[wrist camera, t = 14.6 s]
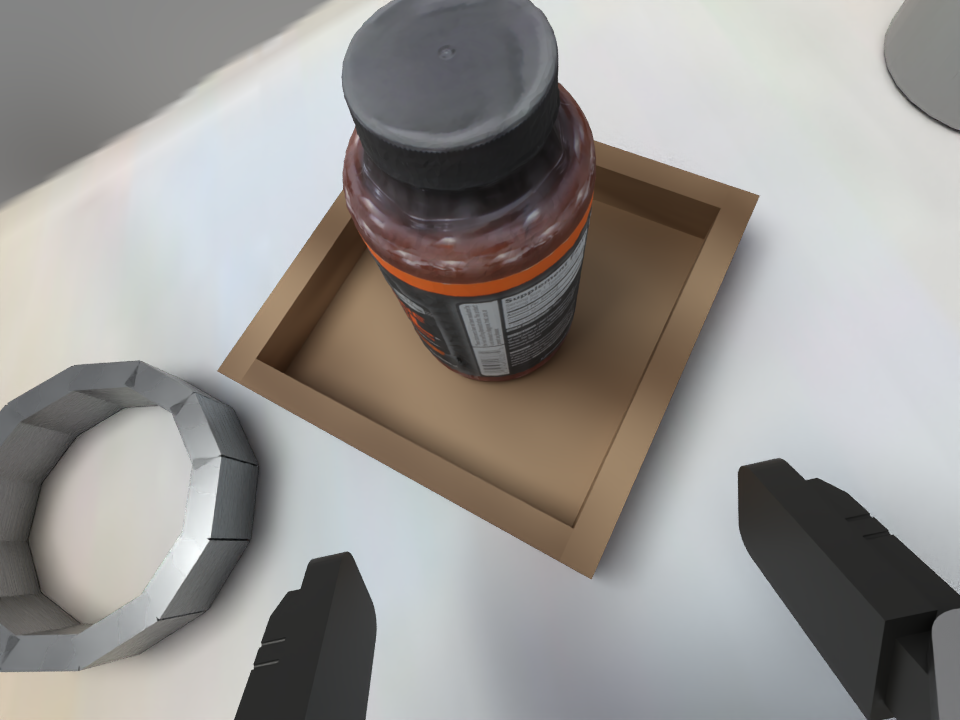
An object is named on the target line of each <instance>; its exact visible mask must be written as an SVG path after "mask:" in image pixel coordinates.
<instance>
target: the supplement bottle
mask: <svg viewBox="0 0 960 720" xmlns="http://www.w3.org/2000/svg"><path fill="white" fill-rule="evenodd" d="M341 78H342V87H343V92H344V97H345V100H346V102H347V105H348V107H349V110H350V113H351V115H352V118H353V121H354V123H355V129H354V131H353V134H352V136H351V138H350V140H349V144H348V147H347V150H346V155H345V160H344V168H343V190H344V193H345V198H346V207H347V209H348V211H349V213H350V215H351V217H352V219H353V221H354V224H355V226H356V229H357V230H358V232H359V234H360V236H361V237H362V239H363V240H364V242H365V244H366V245H367V247H368V250H369V252H370V254H371V256H372V257H373V259H374V260H375V262H376V263H377V265H378V267H379V269H380V271H381V272H382V274H383V276H384V278H385V280H386V281H387V283H388V284H389V285H390V287H391V288H392V290H393V292H394V294H395V295H396V297H397V298H398V300H399V302H400V304H401V306H402V307H403V310H404V311H405V313H406V314H407V316H408V318H409V320H410V321H411V322H412V324H413V326H414V329H415V331H416V333H417V334H418V335H419V337H420V339H421V340H422V342H423V344H424V345H425V346H426V348H427V349H428V350H429V351H430V352H431V353H432V354H433V356H434V357H435V358H436V359H437V360H438V361H439V362H441V363H442V364H443V365H444V366H446V367H447V368H448V369H450V370H452V371H453V372H455V373H458V374H460V375H462V376H463V377H466V378H469V379H474V380H478V381H506V380H511V379H516V378H519V377H521V376H525V375H527V374H529V373H531V372H533V371H535V370H536V369H538V368H539V367H541V366H542V365H544V364H545V363H546V362H547V361H548V360H550V359H551V358H552V357H553V356H554V355H555V353H556V352H557V351H558V350H559V348H560V347H561V345H562V344H563V342H564V341H565V339H566V336H567V335H568V333H569V331H570V328H571V324H572V320H573V317H574V313H575V308H576V301H577V295H578V290H579V283H580V278H581V271H582V264H583V259H584V253H585V246H586V240H587V234H588V229H589V224H590V216H591V211H592V201H593V193H594V186H595V179H596V153H595V145H594V140H593V136H592V131H591V129H590V126H589V123H588V121H587V119H586V117H585V115H584V113H583V112H582V110H581V108H580V107H579V105H578V104H577V102H576V101H575V100H574V98H573V97H572V96H571V94H570V93H569V92H568V91H567V90H566V89H565V88H564V87H563V86H562V85H561V84H560V83H558V47H557V42H556V38H555V35H554V31H553V29H552V27H551V25H550V24H549V22H548V20H547V18H546V16H545V15H544V13H543V12H542V11H541V10H540V9H539V8H537V7H535V6H534V4H533V3H532V2H531V1H530V0H393V1H391V2H389V3H388V4H387V5H385V6H383V7H381V8H380V9H378V10H377V11H376V12H375V13H374V14H373V15H372V16H371V17H370V18H369V19H368V20H367V21H366V22H365V23H363V25H362V27H361V28H360V29H359V30H358V31H357V32H356V33H355V35H354V36H353V38H352V40H351V42H350V44H349V47H348V49H347V52H346V55H345V58H344V61H343V69H342V77H341Z"/></svg>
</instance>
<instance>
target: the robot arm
mask: <svg viewBox="0 0 960 720" xmlns="http://www.w3.org/2000/svg"><path fill="white" fill-rule="evenodd" d="M884 54H885V58H886V63H887V67H888V70H889V72H890V73H891V75H892V77H893V79H894V81H895V83H896V85H897V86H898V87H899V88H900V89H901V90H902V92H903V93H904V94H905V95H906V96H907V97H908V98H909V100H910V101H911V102H913V103H914V104H915V105H916V106H918V107H919V108H920V109H922V110H923V111H924V112H926V113H927V114H928V115H929V116H931V117H933V118H935V119H937V120H939V121H941V122H942V123H944V124H946V125H948V126H950V127H952V128H954V129H957V130H960V0H905V1H904V3H903V4H902V6H901V7H900V9H899V10H898V12H897V13H896V15H895V16H894V18H893V19H892V21H891V23H890V25H889V28H888V30H887V33H886V35H885V46H884ZM738 513H739V530H740V534H741V537H742V540H743V543H744V545H745V547H746V549H747V551H748V553H749V555H750V556H751V558H752V559H753V560H754V562H755V563H756V565H757V566H758V567H759V569H760V570H761V572H762V573H763V574H764V576H765V577H766V579H767V580H768V581H769V583H770V584H771V586H772V587H773V588H774V590H775V591H776V593H777V594H778V595H779V597H780V598H781V600H782V601H783V602H784V604H785V605H786V607H787V608H788V609H789V611H790V612H791V614H792V615H793V616H794V618H795V619H796V621H797V622H798V623H799V625H800V626H801V628H802V629H803V630H804V632H805V633H806V635H807V636H808V637H809V639H810V640H811V642H812V643H813V644H814V646H815V647H816V649H817V650H818V651H819V653H820V654H821V656H822V657H823V658H824V660H825V661H826V663H827V664H828V665H829V667H830V668H831V670H832V671H833V672H834V674H835V675H836V677H837V678H838V679H839V681H840V682H841V684H842V685H843V686H844V688H845V689H846V691H847V692H848V693H849V695H850V696H851V698H852V699H853V700H854V702H855V703H856V705H857V706H858V707H859V709H860V710H861V712H862V713H863V714H864V716H865V717H866V719H867V720H884V719H889V718H894V717H895V718H896V719H897V720H960V595H959V594H958V593H957V592H956V591H955V590H954V589H952V588H951V587H950V586H949V585H948V584H947V583H946V582H945V581H944V580H943V579H941V578H940V577H939V576H938V575H937V574H936V573H935V572H934V571H933V570H932V569H930V568H929V567H928V566H927V565H926V564H925V563H924V562H923V561H922V560H921V559H919V558H918V557H917V556H916V555H915V554H914V553H913V552H912V551H911V550H910V549H908V548H907V547H906V546H905V545H904V544H903V543H902V542H901V541H900V540H899V539H897V538H896V537H895V536H894V535H890V534H889V532H888V529H886V528H885V527H884V526H883V525H882V524H881V523H880V522H879V521H878V520H877V519H875V518H874V517H873V518H872V517H871V516H870V513H869V512H868V511H867V510H866V509H864V508H863V507H862V506H861V505H860V504H859V503H858V502H857V501H856V500H855V499H853V498H852V497H851V496H850V495H849V494H848V493H847V492H845V491H843V490H841V489H839V488H837V487H835V486H833V485H831V484H829V483H827V482H825V481H823V480H821V479H819V478H815V479H810V480H805V479H804V478H803V477H802V476H801V475H800V474H799V473H798V472H797V471H795V470H794V469H793V468H792V467H791V466H790V465H789V464H788V463H787V462H786V461H785V460H783V459H781V458H777V459H772V460H768V461H763V462H759V463H754V464H749V465H745V466H741V467H740V468H739V471H738ZM376 630H377V626H376V614H375V609H374V605H373V602H372V600H371V597H370V595H369V593H368V590H367V588H366V586H365V583H364V581H363V579H362V576H361V574H360V572H359V570H358V567H357V565H356V563H355V560H354V558H353V556H352V555H351V553H350V552H343V553H338V554H334V555H329V556H325V557H320V558H315V559H312V560H311V561H310V562H309V564H308V566H307V569H306V572H305V576H304V579H303V582H302V586H301V589H299V590H294V591H290V592H288V593H287V594H286V595H285V597H284V598H283V599H282V601H281V602H280V604H279V605H278V606H277V608H276V609H275V610H274V612H273V613H272V615H271V616H270V618H269V621H268V624H267V627H266V630H265V633H264V636H263V639H262V641H261V643H262V646H261V647H260V648H259V650H258V653H257V656H256V659H255V661H254V670H251V673H250V676H249V679H248V681H247V684H246V687H245V690H244V693H243V696H242V699H241V702H240V704H239V707H238V710H237V713H236V716H235V719H234V720H365V719H366V711H367V703H368V696H369V688H370V680H371V672H372V664H373V657H374V649H375V641H376Z"/></svg>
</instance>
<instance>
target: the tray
mask: <svg viewBox="0 0 960 720" xmlns="http://www.w3.org/2000/svg"><path fill="white" fill-rule="evenodd" d="M594 145H595V153H596V179H595V186H594V193H593V201H592V211H591V216H590V224H589V229H588V234H587V240H586V246H585V253H584V259H583V264H582V271H581V278H580V283H579V290H578V295H577V301H576V308H575V313H574V317H573V320H572V324H571V328H570V331H569V333H568V335H567V336H566V339H565V341H564V342H563V344H562V345H561V347H560V348H559V350H558V351H557V352H556V353H555V355H554V356H553V357H552V358H551V359H550V360H548V361H547V362H546V363H545V364H544V365H542V366H541V367H539V368H538V369H536V370H535V371H533V372H531V373H529V374H527V375H525V376H521V377H519V378H516V379H511V380H506V381H478V380H474V379H469V378H466V377H463V376H462V375H460V374H458V373H455V372H453V371H452V370H450V369H448V368H447V367H446V366H444V365H443V364H442V363H441V362H439V361H438V360H437V359H436V358H435V357H434V356H433V354H432V353H431V352H430V351H429V350H428V349H427V348H426V346H425V345H424V344H423V342H422V340H421V339H420V337H419V335H418V334H417V333H416V331H415V329H414V326H413V324H412V322H411V321H410V320H409V318H408V316H407V314H406V313H405V311H404V310H403V307H402V306H401V304H400V302H399V300H398V298H397V297H396V295H395V294H394V292H393V290H392V288H391V287H390V285H389V284H388V283H387V281H386V280H385V278H384V276H383V274H382V272H381V271H380V269H379V267H378V265H377V263H376V262H375V260H374V259H373V257H372V256H371V254H370V252H369V250H368V247H367V245H366V244H365V242H364V240H363V239H362V237H361V236H360V234H359V232H358V230H357V229H356V226H355V224H354V221H353V219H352V217H351V215H350V213H349V211H348V209H347V207H346V198H345V193H344V190H342V192H341V193H340V195H339V196H338V198H337V199H336V200H335V202H334V203H333V205H332V206H331V208H330V209H329V211H328V212H327V213H326V215H325V216H324V218H323V219H322V221H321V222H320V223H319V225H318V226H317V228H316V229H315V231H314V232H313V234H312V235H311V236H310V238H309V239H308V241H307V242H306V244H305V245H304V247H303V248H302V249H301V251H300V252H299V254H298V255H297V257H296V258H295V260H294V261H293V262H292V264H291V265H290V267H289V268H288V270H287V271H286V272H285V274H284V275H283V277H282V278H281V280H280V281H279V283H278V284H277V285H276V287H275V288H274V290H273V291H272V293H271V294H270V296H269V297H268V298H267V300H266V301H265V303H264V304H263V306H262V307H261V308H260V310H259V311H258V313H257V314H256V316H255V317H254V319H253V320H252V321H251V323H250V324H249V326H248V327H247V329H246V330H245V332H244V333H243V334H242V336H241V337H240V339H239V340H238V342H237V343H236V345H235V346H234V347H233V349H232V350H231V352H230V353H229V355H228V356H227V357H226V359H225V360H224V362H223V363H222V365H221V366H220V368H219V369H218V370H217V371H218V372H220V373H221V374H223V375H225V376H227V377H229V378H230V379H232V380H234V381H236V382H238V383H239V384H241V385H243V386H245V387H247V388H248V389H250V390H252V391H254V392H256V393H257V394H259V395H261V396H263V397H265V398H266V399H268V400H270V401H272V402H274V403H275V404H277V405H279V406H281V407H283V408H284V409H286V410H288V411H290V412H292V413H293V414H295V415H297V416H299V417H301V418H302V419H304V420H306V421H308V422H310V423H311V424H313V425H315V426H317V427H318V428H320V429H322V430H324V431H326V432H327V433H329V434H331V435H333V436H335V437H336V438H338V439H340V440H342V441H344V442H345V443H347V444H349V445H351V446H353V447H354V448H356V449H358V450H360V451H362V452H363V453H365V454H367V455H369V456H371V457H372V458H374V459H376V460H378V461H380V462H381V463H383V464H385V465H387V466H389V467H390V468H392V469H394V470H396V471H398V472H399V473H401V474H403V475H405V476H407V477H408V478H410V479H412V480H414V481H416V482H417V483H419V484H421V485H423V486H425V487H426V488H428V489H430V490H432V491H433V492H435V493H437V494H439V495H441V496H442V497H444V498H446V499H448V500H450V501H451V502H453V503H455V504H457V505H459V506H460V507H462V508H464V509H466V510H468V511H469V512H471V513H473V514H475V515H477V516H478V517H480V518H482V519H484V520H486V521H487V522H489V523H491V524H493V525H495V526H496V527H498V528H500V529H502V530H504V531H505V532H507V533H509V534H511V535H513V536H514V537H516V538H518V539H520V540H522V541H523V542H525V543H527V544H529V545H531V546H532V547H534V548H536V549H538V550H540V551H541V552H543V553H545V554H547V555H549V556H550V557H552V558H554V559H556V560H557V561H559V562H561V563H563V564H565V565H566V566H568V567H570V568H572V569H574V570H575V571H577V572H579V573H581V574H583V575H584V576H586V577H588V578H590V579H592V577H593V575H594V573H595V570H596V568H597V566H598V563H599V561H600V559H601V557H602V554H603V552H604V550H605V547H606V545H607V543H608V541H609V538H610V536H611V534H612V532H613V529H614V527H615V525H616V522H617V520H618V518H619V516H620V513H621V511H622V509H623V506H624V504H625V502H626V500H627V497H628V495H629V493H630V490H631V488H632V486H633V484H634V481H635V479H636V477H637V474H638V472H639V470H640V468H641V465H642V463H643V461H644V459H645V456H646V454H647V452H648V449H649V447H650V445H651V443H652V440H653V438H654V436H655V433H656V431H657V429H658V427H659V424H660V422H661V420H662V417H663V415H664V413H665V411H666V408H667V406H668V404H669V401H670V399H671V397H672V395H673V392H674V390H675V388H676V386H677V383H678V381H679V379H680V376H681V374H682V372H683V370H684V367H685V365H686V363H687V360H688V358H689V356H690V354H691V351H692V349H693V347H694V344H695V342H696V340H697V338H698V335H699V333H700V331H701V328H702V326H703V324H704V322H705V319H706V317H707V315H708V313H709V310H710V308H711V306H712V303H713V301H714V299H715V297H716V294H717V292H718V290H719V287H720V285H721V283H722V281H723V278H724V276H725V274H726V271H727V269H728V267H729V265H730V262H731V260H732V258H733V255H734V253H735V251H736V249H737V246H738V244H739V242H740V240H741V237H742V235H743V233H744V230H745V228H746V226H747V224H748V221H749V219H750V217H751V214H752V212H753V210H754V208H755V205H756V203H757V201H758V198H759V195H756V194H753V193H750V192H747V191H744V190H741V189H738V188H735V187H732V186H729V185H726V184H723V183H720V182H717V181H714V180H711V179H708V178H705V177H702V176H699V175H696V174H693V173H690V172H687V171H684V170H681V169H678V168H675V167H672V166H669V165H666V164H663V163H660V162H657V161H654V160H651V159H648V158H645V157H642V156H639V155H636V154H633V153H630V152H627V151H624V150H621V149H618V148H615V147H612V146H609V145H606V144H603V143H600V142H597V141H594Z"/></svg>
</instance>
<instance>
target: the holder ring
mask: <svg viewBox="0 0 960 720" xmlns="http://www.w3.org/2000/svg"><path fill="white" fill-rule="evenodd" d="M155 405H159V406H161V407H163V408H164V409H166V410H168V411H169V412H171V413H172V415H173V417H174V420H175V422H176V425H177V427H178V430H179V432H180V435H181V437H182V440H183V442H184V445H185V447H186V450H187V452H188V455H189V457H190V460H191V462H192V471H191V478H190V484H189V491H188V498H187V504H186V511H185V517H184V524H183V531H182V533H181V534H180V536H179V538H178V539H177V541H176V542H175V544H174V545H173V547H172V548H171V550H170V551H169V553H168V554H167V556H166V557H165V559H164V560H163V562H162V563H161V565H160V566H159V568H158V570H157V571H156V573H155V574H154V576H153V577H152V579H151V580H150V582H149V583H148V585H147V586H146V588H145V589H144V591H143V592H142V594H141V595H140V596H139V597H137V598H135V599H134V600H132V601H131V602H129V603H127V604H126V605H124V606H123V607H121V608H119V609H118V610H116V611H115V612H113V613H111V614H110V615H108V616H107V617H105V618H104V619H102V620H100V621H99V622H97V623H96V624H80V623H79V622H77V621H76V620H75V619H74V618H72V617H71V616H70V615H69V614H67V613H66V612H65V611H63V610H62V609H61V608H60V607H58V606H57V605H56V604H54V603H53V602H52V601H51V600H49V599H48V598H47V597H45V596H44V595H43V594H42V593H41V591H40V588H39V584H38V580H37V576H36V572H35V568H34V565H33V561H32V557H31V553H30V549H29V545H28V542H27V540H28V536H29V532H30V528H31V523H32V519H33V515H34V511H35V507H36V503H37V499H38V495H39V491H40V487H41V483H42V482H43V480H44V479H45V478H46V476H47V475H48V474H49V472H50V471H51V470H52V468H53V467H54V466H55V464H56V463H57V462H58V460H59V459H60V458H61V456H62V455H63V454H64V452H65V451H66V450H67V448H68V447H69V446H70V444H71V443H72V442H73V440H74V439H75V437H76V436H77V435H79V434H81V433H82V432H84V431H86V430H87V429H89V428H91V427H92V426H94V425H96V424H97V423H99V422H101V421H102V420H104V419H106V418H108V417H109V416H111V415H113V414H114V413H116V412H118V411H119V410H121V409H123V408H124V407H139V406H155ZM257 466H258V463H257V460H256V458H255V456H254V454H253V452H252V449H251V447H250V445H249V443H248V440H247V438H246V436H245V434H244V432H243V429H242V427H241V425H240V423H239V420H238V418H237V416H236V414H235V411H234V410H233V409H232V408H231V407H229V406H228V405H226V404H224V403H222V402H221V401H219V400H217V399H215V398H214V397H212V396H210V395H208V394H207V393H205V392H203V391H201V390H200V389H198V388H196V387H194V386H193V385H191V384H189V383H187V382H186V381H184V380H182V379H179V378H177V377H175V376H173V375H171V374H169V373H166V372H164V371H162V370H160V369H158V368H156V367H153V366H151V365H149V364H147V363H145V362H143V361H126V362H111V363H97V364H83V365H74V366H71V367H69V368H67V369H66V370H64V371H62V372H60V373H59V374H57V375H55V376H54V377H52V378H50V379H48V380H47V381H45V382H43V383H41V384H40V385H38V386H36V387H35V388H33V389H31V390H29V391H28V392H26V393H24V394H22V395H21V396H19V397H17V398H16V399H14V400H12V401H10V402H9V403H8V405H5V406H4V407H3V409H2V410H1V411H0V672H42V671H80V670H84V669H87V668H91V667H94V666H98V665H102V664H105V663H109V662H113V661H116V660H120V659H124V658H127V657H131V656H135V655H138V654H140V653H142V652H143V651H145V650H147V649H148V648H150V647H151V646H153V645H154V644H156V643H158V642H159V641H161V640H162V639H164V638H165V637H167V636H168V635H170V634H172V633H173V632H175V631H176V630H178V629H179V628H181V627H183V626H184V625H186V624H187V623H189V622H190V621H192V620H193V619H195V618H197V617H198V616H200V615H201V614H203V613H204V612H206V610H208V608H209V607H210V605H211V604H212V602H213V600H214V599H215V597H216V596H217V594H218V592H219V591H220V589H221V587H222V586H223V584H224V583H225V581H226V579H227V578H228V576H229V574H230V573H231V571H232V570H233V568H234V566H235V565H236V563H237V562H238V560H239V558H240V557H241V555H242V553H243V552H244V550H245V549H246V547H247V545H248V544H249V542H250V540H248V539H251V534H252V525H253V516H254V507H255V497H256V488H257V479H258V470H259V467H257Z"/></svg>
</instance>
